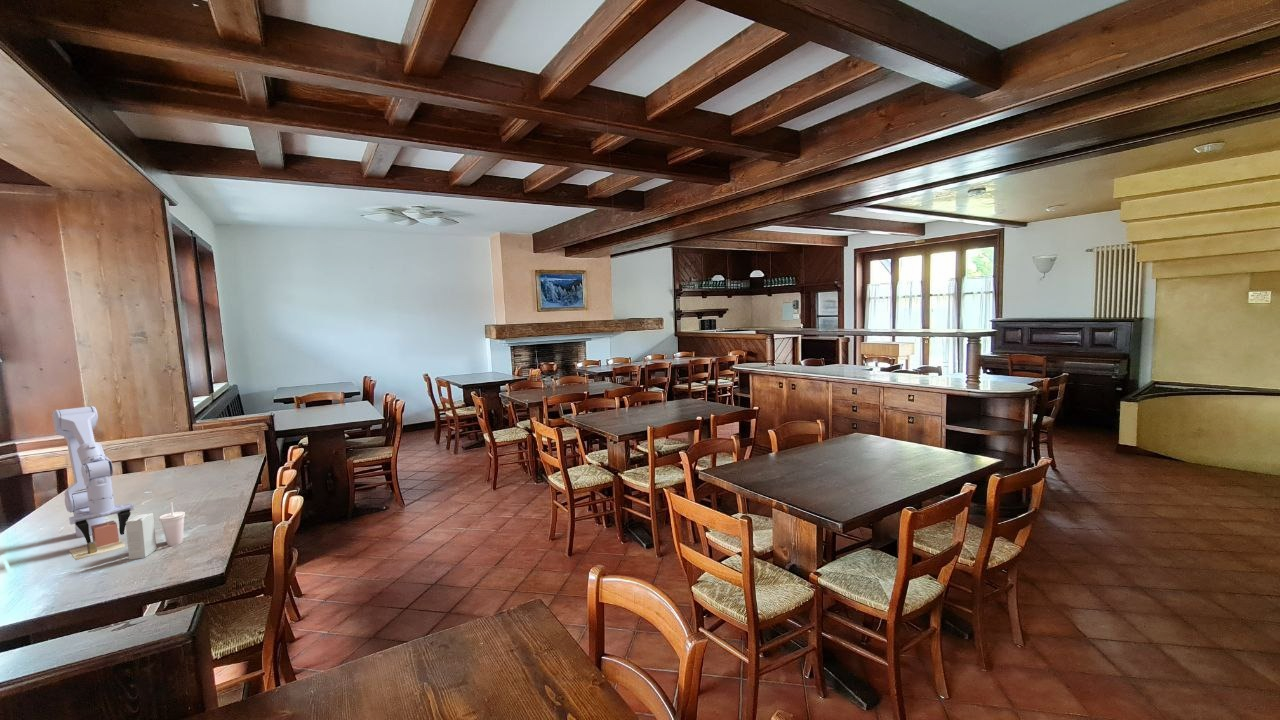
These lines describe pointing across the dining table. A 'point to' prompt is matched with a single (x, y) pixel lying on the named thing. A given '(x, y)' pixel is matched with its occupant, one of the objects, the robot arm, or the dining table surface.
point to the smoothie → (173, 526)
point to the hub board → (94, 549)
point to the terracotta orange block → (105, 533)
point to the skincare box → (141, 536)
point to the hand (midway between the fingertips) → (105, 538)
